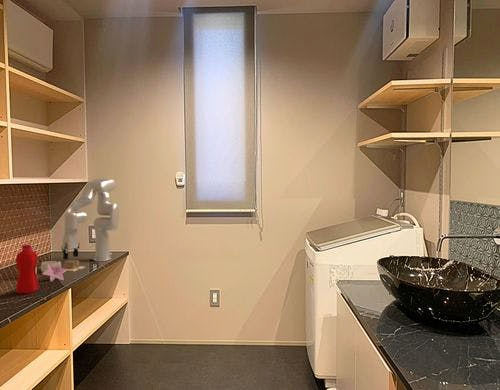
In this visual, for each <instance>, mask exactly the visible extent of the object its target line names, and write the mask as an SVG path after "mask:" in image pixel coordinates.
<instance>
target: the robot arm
mask: <svg viewBox="0 0 500 390" xmlns="http://www.w3.org/2000/svg"><path fill="white" fill-rule="evenodd" d="M115 189H116V181H115V179H112V178H96V179H93V180H89V181H88V182H87V183H86V184H85V186H84V188H83V191H82V192H81V194H80V197H79V198H77V199H76V200H74V201H73V202H72V203H71V204H70V205H69V206H68V208H67V210H66V213H65V214H64V234H63V237H62V245H61V246H60V249H61V252H62V254H63V255H62V257H63V260H69V250H73V251H72V254H73V255H72V256H73V257H74V258H77V257H79V250H80V246H81V243H80V242H79V236H78V224H85V223H86V222H87V221H88V219H89V217H88V216H89V215H88V214H87V213H86V212H83V211H79V210H80V209H82V208H84V207H87V206H89V205H91V204H92V203H93V202H94V199H95V197H96V195H97V205H96V206H97V207H96V213H97V215H99V217H96V218H95V219H94V221H93V229H94V233H95V234H94V235H95V239H94V240H95V243H94V245H95V257H94V258H93V259H92V260H93V261H95V262H107V261H110V260H111V261H112V257H111V256H112V255H113V253H112V252H110V235H109V233H108V231H115V230H117V229H118V227H119V219H120V207H119V205H118V203H115V202H110V201H111V197H110V193H109V192H113V190H115ZM101 216H102V217H101ZM103 216H106V217H103ZM107 216H109V217H107Z"/></svg>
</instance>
